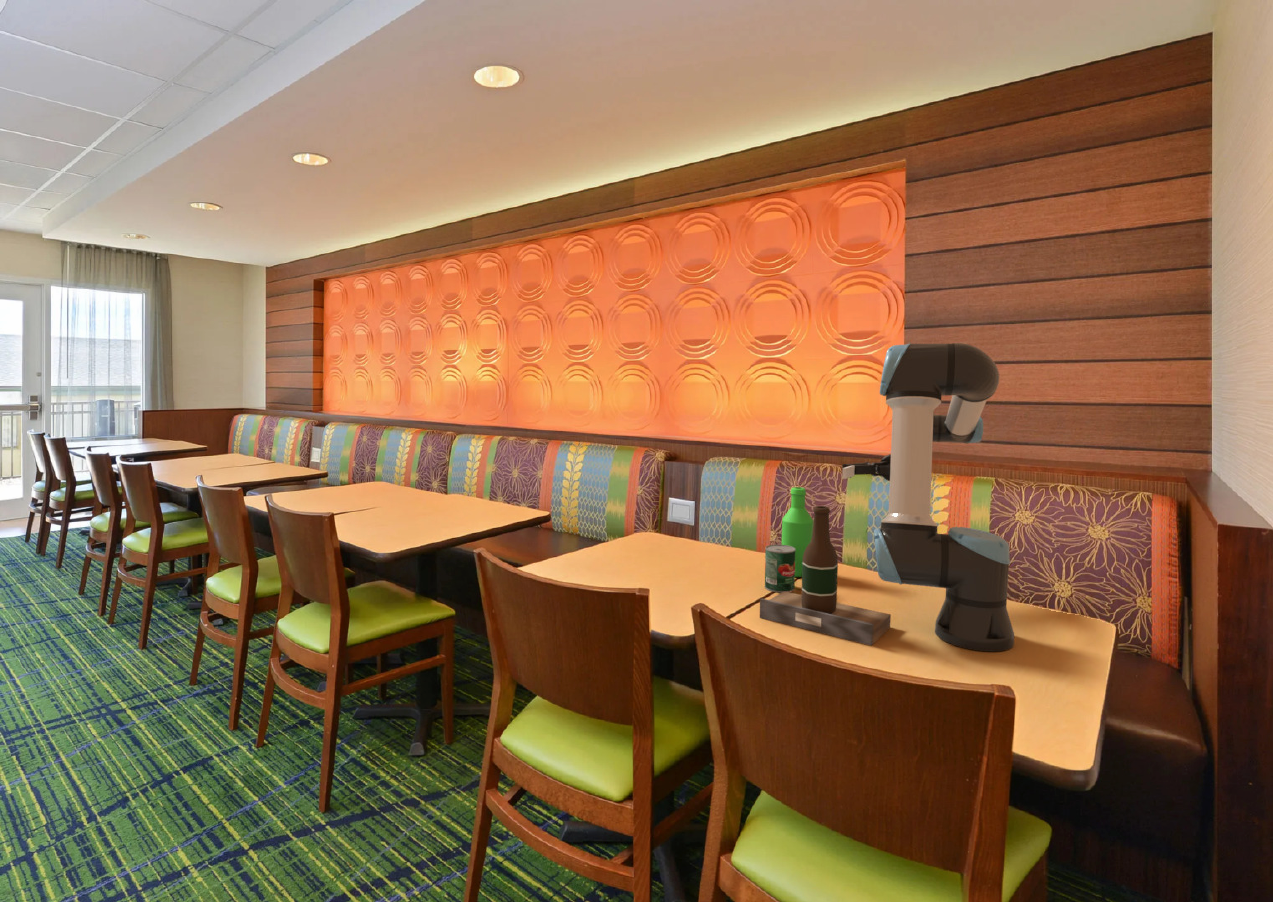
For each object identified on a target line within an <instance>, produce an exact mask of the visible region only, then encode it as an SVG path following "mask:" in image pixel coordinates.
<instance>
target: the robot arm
mask: <svg viewBox="0 0 1273 902" xmlns="http://www.w3.org/2000/svg"><path fill="white" fill-rule="evenodd" d="M999 383H1000V373H999V368H998V366H997V365H996V363H995V361H994V360H993V359H992V357H991V356H989V355H988V354H987V353H986V352H985V351H983V350H982V349H981V348H978V347H977V346H973V345H971V344H968V343H963V342H962V343H961V342H953V343H907V344H894V345H892V346H890V347H889V348H888V349H887V351H886V354H885V358H884V362H883V368H882V373H881V379H880V385H879V395H880V396H883V397H885V404H886V405H887V406H888V407H889V408H890V409H891V410H892V411H891V412H892V416H891V417H892V418H891V438H890V441H891V442H890V444H891V445H890V454H886V455H885V456H883V457H882V458H881V460H880V462H871V463H870V462H869V461H865V462H861V463H860V462H858V463H843V464H842V466H841V467H842V471H841V474H842V476H841V477H842V478H841V479H842V480H846V479H851V478H853V477H855V475H856V476H857V475H861V476H862V475H871V476H874V477H882V478H883V479H885V480H886V481H888V482H889V493H888V494H889V495H888V496H889V497H888V514H887V515H886V516H885V517H883V519H882V520H881V521H880V528H879V527H877V528H875V529H874V531H873V537H874V547H875V558H876V568H877V575H878V577H879V579H881V580H882V581H884V582H888V583H894V584H899V585H909V586H910V585H912V586H920V587H921V586H922V587H932V588H941V589H945V596H944V597H945V598H944V602H942V603H943V604H942V606H941V608H940V611H939V613H938V615H937V617H936V620H935V625H934V632H935V633H934V634H935V635H936V636H937V637H938V638H940V640H942V641H945V642H946V643H948V644H951V645H954V646H957V647H960V648H963V649H968V650H973V651H978V652H979V651H980V652H1002V651H1007V650H1008V651H1009V650H1010V649H1012V647H1014V645H1015V632H1014V628H1013V626H1012V621H1011V619H1010V616H1009V612H1008V610H1007V609H1008V608H1007V601H1008V600H1007V599H1008V586H1009V585H1008V584H1009V571H1010V570H1009V568H1010V564H1011V560H1010V559H1011V558H1010V546H1009V543H1008V542H1007V541H1006V540H1005V539H1004V538H1003V537H1001V536H999V535H998V534H994V533H991V532H988V531H985V530H980V529H976V528H971V527H966V526H965V527H964V526H959V527H958V526H953V527H950V528H949V530H948V531H947V533H938V524H937V523H936V521H934V520H933V519H932V518H931V500H932V497H931V496H932V474H933V473H932V469H933V468H932V467H933V465H932V464H933V443H950V444H951V443H954V444H955V443H956V444H977V443H980V442H981V441H982V440H983V435H984V420H983V418H982V417H981V415H982V412H983V411H984V408H985V405H986V403H987V400H989V399H991V397H993V396H994V395H995V393H996V391H997V390H998V386H999ZM944 396H948V397H949V396H951V399H950V403H949V406H948V410H947V414H946V415H945V414H943V415H942V414H934V411H935V410H936V408H938V407H939V406H940V405H942V397H944Z"/></svg>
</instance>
